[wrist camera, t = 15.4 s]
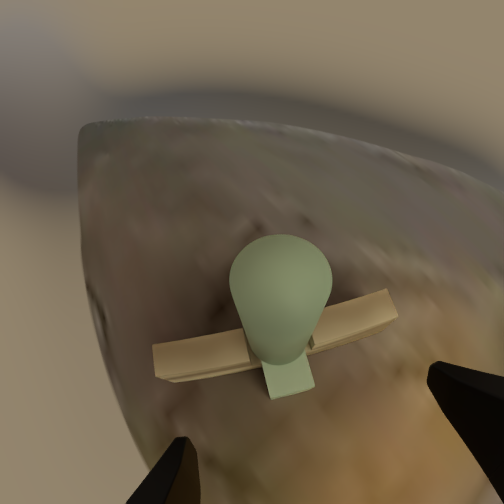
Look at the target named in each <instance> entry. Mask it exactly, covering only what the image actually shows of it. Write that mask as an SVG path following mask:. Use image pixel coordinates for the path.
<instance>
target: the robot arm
mask: <svg viewBox="0 0 504 504" xmlns="http://www.w3.org/2000/svg"><path fill="white" fill-rule="evenodd" d="M427 385H428V387H429V389H430V391H431V392H432V394H433V396H434V398H435V399H436V401H437V403H438V405H439V406H440V408H441V410H442V412H443V413H444V415H445V416H446V417H447V419H448V420H449V422H450V423H451V424H452V426H453V427H454V429H455V430H456V431H457V433H458V434H459V436H460V437H461V438H462V440H463V441H464V443H465V444H466V446H467V447H468V449H469V450H470V451H471V453H472V454H473V456H474V457H475V459H476V460H477V462H478V463H479V465H480V466H481V468H482V470H483V471H484V473H485V474H486V476H487V477H488V479H489V481H490V482H491V484H492V486H493V487H494V489H495V490H496V492H497V494H498V495H499V497H500V499H501V500H502V502H503V504H504V377H502V376H498V375H494V374H489V373H485V372H481V371H477V370H473V369H469V368H465V367H461V366H457V365H453V364H450V363H446V362H442V361H437V362H435V363H433V364H431V365H430V367H429V371H428V376H427ZM200 496H201V490H200V479H199V470H198V459H197V452H196V449H195V448H194V446H193V444H192V443H191V441H190V439H189V438H188V437H186V436H184V437H176V438H175V439H174V440H173V442H172V443H171V444H170V446H169V447H168V448H167V450H166V451H165V453H164V454H163V455H162V457H161V458H160V459H159V461H158V462H157V463H156V465H155V466H154V467H153V468H152V470H151V471H150V472H149V474H148V475H147V476H146V478H145V479H144V480H143V481H142V483H141V484H140V485H139V487H138V488H137V489H136V490H135V492H134V493H133V494H132V495H131V497H130V498H129V499H128V501H127V502H126V504H200Z"/></svg>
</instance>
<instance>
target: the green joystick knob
mask: <svg viewBox="0 0 504 504" xmlns="http://www.w3.org/2000/svg"><path fill="white" fill-rule="evenodd" d="M229 284H230V290H231V294H232V297H233V300H234V302H235V305H236V308H237V311H238V314H239V317H240V319H241V322H242V325H243V328H244V331H245V333H246V336H247V339H248V342H249V344H250V347H251V349H252V351H253V353H254V354H255V355H256V357H258V358H259V359H260V360H261V362H262V367H263V371H264V375H265V379H266V383H267V387H268V391H269V395H270V399H271V400H272V399H276V398H280V397H285V396H289V395H292V394H296V393H300V392H304V391H307V390H309V389H311V388H313V387H315V384H314V381H313V377H312V373H311V370H310V366H309V363H308V359H307V356H306V352H305V348H306V346H307V343H308V341H309V339H310V337H311V335H312V333H313V331H314V329H315V327H316V325H317V322H318V320H319V318H320V316H321V314H322V311H323V309H324V307H325V305H326V302H327V300H328V298H329V296H330V292H331V289H332V273H331V269H330V265H329V263H328V261H327V259H326V258H325V256H324V255H323V253H322V252H321V251H320V250H319V249H318V248H317V247H316V246H314V245H313V244H312V243H310V242H308V241H306V240H304V239H302V238H300V237H296V236H292V235H284V234H277V235H269V236H265V237H262V238H259V239H257V240H255V241H253V242H251V243H250V244H249V245H247V246H246V247H245V248H244V249H243V250H242V251H241V252H240V253H239V254H238V255H237V257H236V258H235V260H234V262H233V264H232V267H231V270H230V276H229Z"/></svg>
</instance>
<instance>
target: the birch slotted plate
mask: <svg viewBox="0 0 504 504" xmlns="http://www.w3.org/2000/svg"><path fill="white" fill-rule="evenodd" d="M397 317H398V314H397V311H396V309H395V306H394V304H393V302H392V299H391V297H390V294H389V292H388V290H387V289H384V290H381V291H378V292H375V293H372V294H368V295H365V296H362V297H359V298H355V299H352V300H349V301H345V302H342V303H339V304H335V305H332V306H328V307H325V308H324V309H323V311H322V314H321V316H320V318H319V320H318V322H317V325H316V327H315V329H314V331H313V333H312V335H311V337H310V339H309V341H308V343H307V346H306V348H305V352H306V356H308V355H312V354H315V353H319V352H322V351H325V350H329V349H332V348H335V347H338V346H341V345H344V344H348V343H351V342H354V341H356V340H359V339H362V338H365V337H368V336H371V335H374V334H376V333H379V332H381V331H382V330H384V329H385V328H386V327H387V326H388V325H389V324H390V323H392V322H393V321H394V320H395V319H396V318H397ZM152 350H153V360H154V369H155V376H156V377H159V378H162V379H164V380H167V381H170V382H173V383H176V382H183V381H190V380H197V379H204V378H210V377H216V376H221V375H227V374H232V373H237V372H242V371H247V370H252V369H256V368H261V367H262V362H261V360H260V359H259V358H258V357H256V355H255V354H254V353H253V351H252V349H251V347H250V344H249V342H248V339H247V336H246V335H245V333H244V331H243V328H240V329H235V330H230V331H226V332H221V333H216V334H211V335H205V336H200V337H195V338H189V339H184V340H178V341H172V342H166V343H159V344H153V345H152Z"/></svg>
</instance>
